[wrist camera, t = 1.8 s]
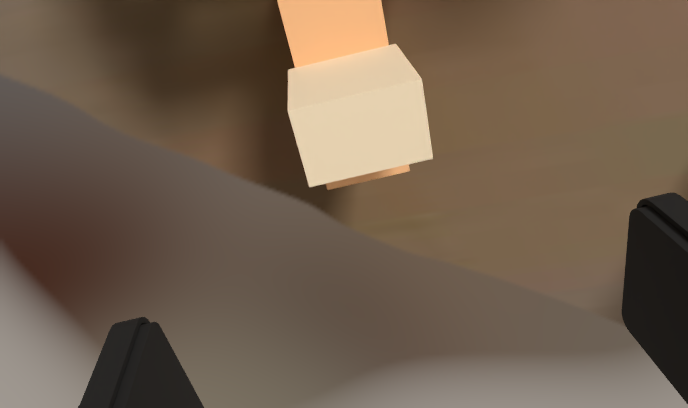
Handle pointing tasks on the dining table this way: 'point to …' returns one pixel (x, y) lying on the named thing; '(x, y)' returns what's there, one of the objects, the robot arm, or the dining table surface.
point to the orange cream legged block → (351, 94)
